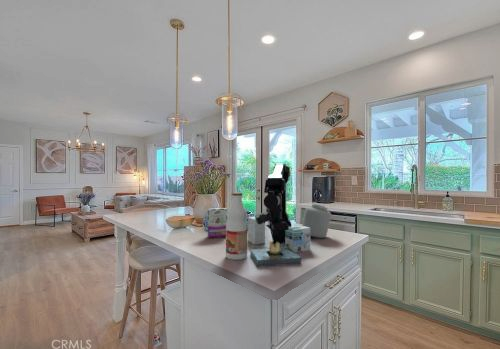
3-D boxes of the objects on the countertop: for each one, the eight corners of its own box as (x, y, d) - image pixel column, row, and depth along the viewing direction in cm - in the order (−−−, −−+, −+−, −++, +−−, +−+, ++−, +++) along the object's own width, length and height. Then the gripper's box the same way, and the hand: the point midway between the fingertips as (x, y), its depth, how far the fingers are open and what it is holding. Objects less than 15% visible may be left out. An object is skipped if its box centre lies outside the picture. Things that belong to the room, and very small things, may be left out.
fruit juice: (248, 260, 100) (248, 193, 100) (225, 260, 99) (226, 193, 99) (246, 252, 109) (246, 192, 109) (225, 253, 108) (226, 192, 108)
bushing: (277, 257, 104) (277, 240, 104) (280, 260, 99) (281, 243, 99) (268, 257, 103) (268, 241, 103) (270, 261, 99) (270, 244, 99)
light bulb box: (293, 253, 109) (293, 229, 109) (284, 249, 115) (284, 226, 115) (311, 249, 114) (311, 227, 114) (301, 246, 120) (301, 224, 120)
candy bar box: (226, 235, 142) (226, 207, 142) (227, 237, 137) (227, 208, 137) (207, 236, 139) (207, 208, 139) (207, 238, 134) (208, 209, 135)
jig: (288, 252, 110) (288, 247, 110) (300, 263, 96) (301, 257, 96) (250, 254, 106) (250, 249, 106) (257, 266, 93) (257, 260, 93)
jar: (334, 235, 144) (334, 193, 144) (335, 241, 130) (335, 195, 130) (302, 232, 149) (302, 192, 149) (300, 238, 135) (300, 194, 135)
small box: (265, 243, 125) (265, 218, 125) (254, 244, 122) (254, 219, 122) (258, 239, 132) (258, 216, 132) (247, 240, 130) (247, 216, 130)
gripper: (252, 203, 109) (251, 237, 109) (261, 209, 91) (261, 250, 91) (275, 203, 111) (275, 236, 111) (289, 208, 93) (289, 248, 93)
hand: (274, 242), depth 101 cm, fingers closed, pressing on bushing
